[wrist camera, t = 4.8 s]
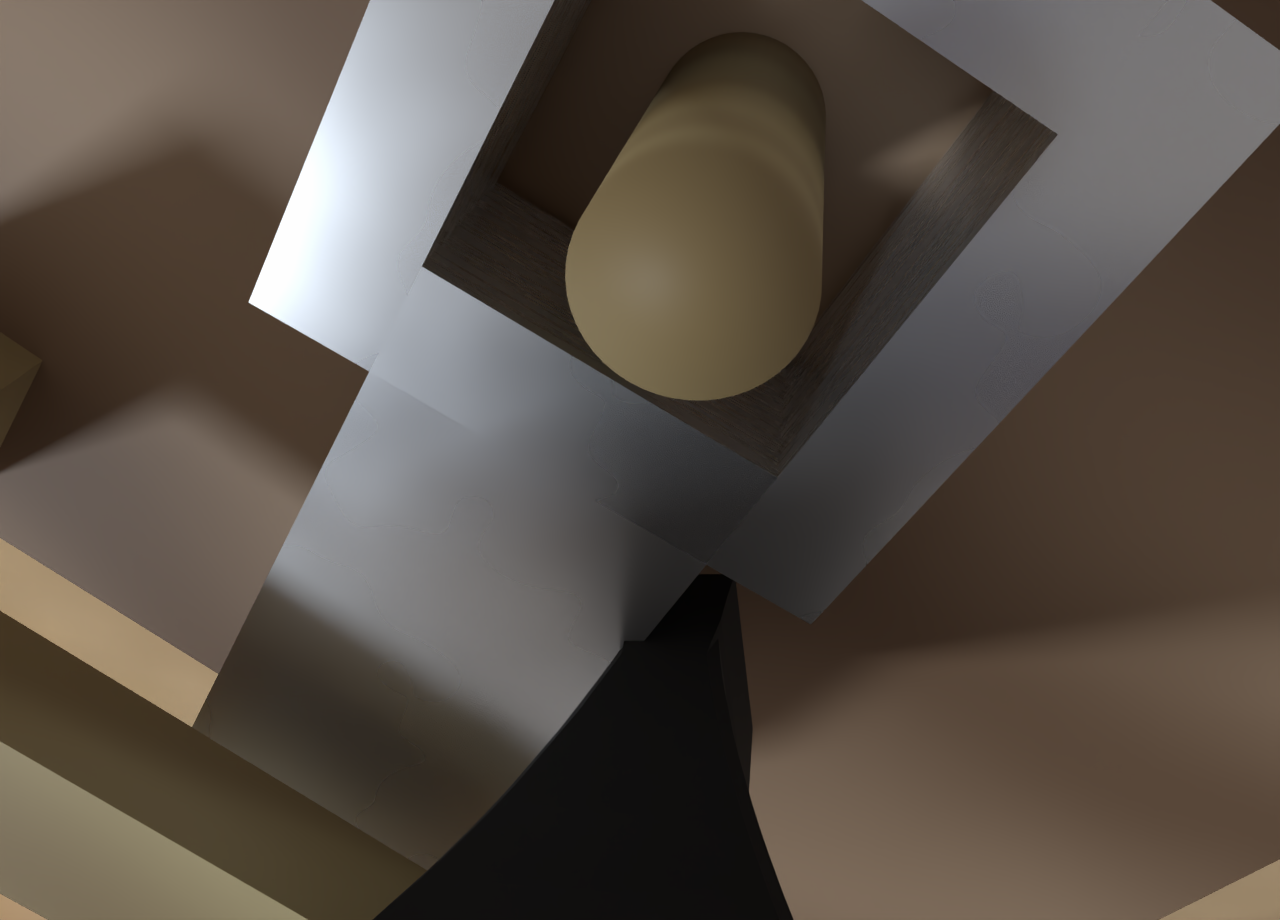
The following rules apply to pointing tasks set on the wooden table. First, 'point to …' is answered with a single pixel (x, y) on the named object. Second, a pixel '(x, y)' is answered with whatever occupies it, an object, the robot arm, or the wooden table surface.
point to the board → (665, 365)
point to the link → (644, 421)
